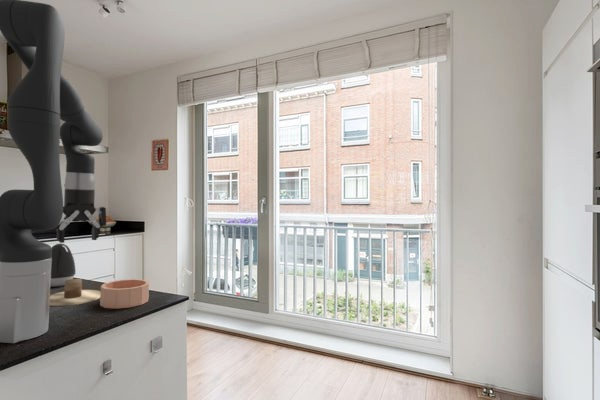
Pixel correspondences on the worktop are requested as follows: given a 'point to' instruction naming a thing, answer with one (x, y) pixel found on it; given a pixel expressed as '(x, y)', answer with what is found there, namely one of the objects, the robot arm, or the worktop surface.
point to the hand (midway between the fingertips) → (78, 241)
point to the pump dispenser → (61, 265)
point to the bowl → (124, 293)
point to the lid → (73, 294)
